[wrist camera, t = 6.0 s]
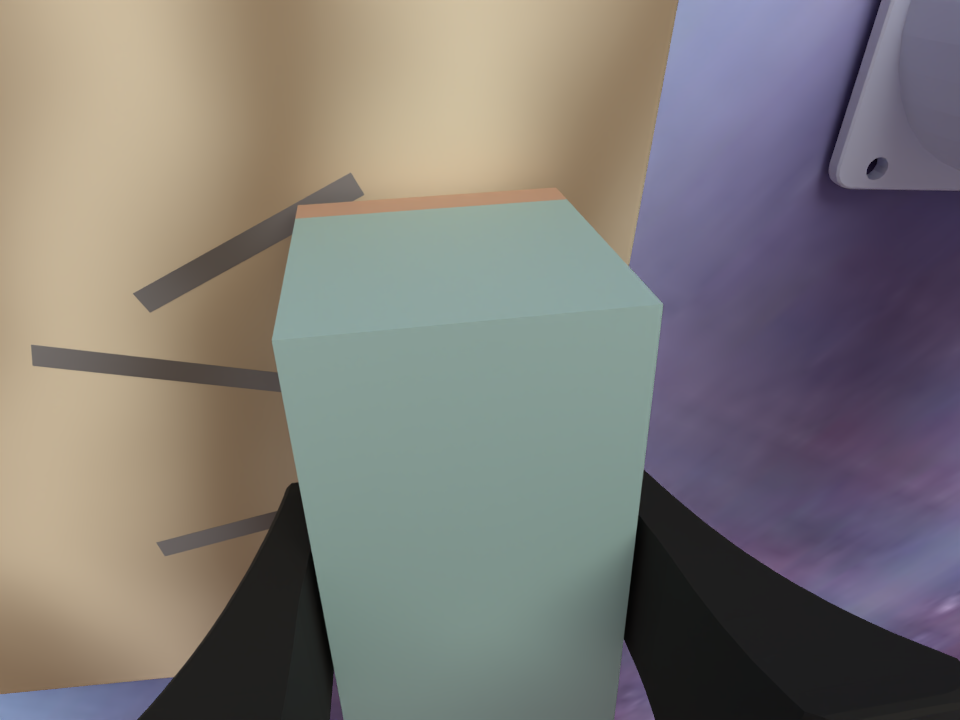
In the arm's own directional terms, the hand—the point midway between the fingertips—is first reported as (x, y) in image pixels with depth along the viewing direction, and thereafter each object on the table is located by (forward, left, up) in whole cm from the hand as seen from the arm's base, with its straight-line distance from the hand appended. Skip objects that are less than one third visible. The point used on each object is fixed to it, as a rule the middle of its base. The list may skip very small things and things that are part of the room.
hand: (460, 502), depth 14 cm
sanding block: (0, -1, -3) cm, 3 cm away
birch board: (+4, 0, -5) cm, 6 cm away
